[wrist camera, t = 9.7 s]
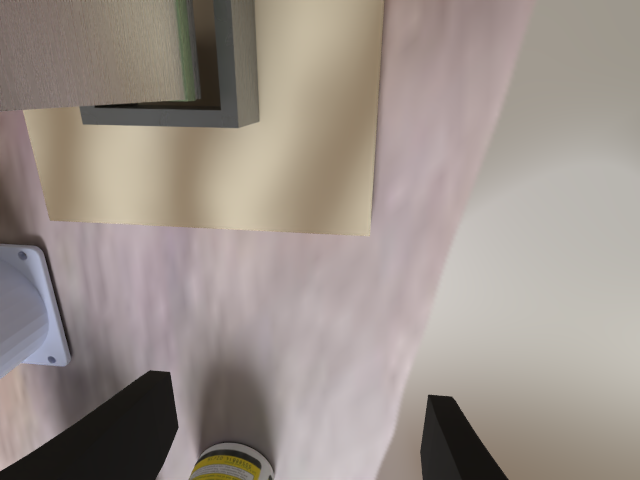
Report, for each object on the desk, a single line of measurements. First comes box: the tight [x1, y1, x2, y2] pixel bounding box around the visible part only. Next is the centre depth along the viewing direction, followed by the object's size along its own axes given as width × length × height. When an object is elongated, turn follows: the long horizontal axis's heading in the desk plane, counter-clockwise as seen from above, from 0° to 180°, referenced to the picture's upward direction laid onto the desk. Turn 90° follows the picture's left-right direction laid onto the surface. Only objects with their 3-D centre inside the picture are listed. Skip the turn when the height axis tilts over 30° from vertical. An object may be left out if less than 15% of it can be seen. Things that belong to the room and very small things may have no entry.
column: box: [0, 0, 201, 111], centre depth 9 cm, size 4×4×8 cm
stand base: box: [23, 0, 384, 236], centre depth 17 cm, size 16×16×2 cm
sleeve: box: [79, 0, 260, 128], centre depth 15 cm, size 6×7×3 cm
